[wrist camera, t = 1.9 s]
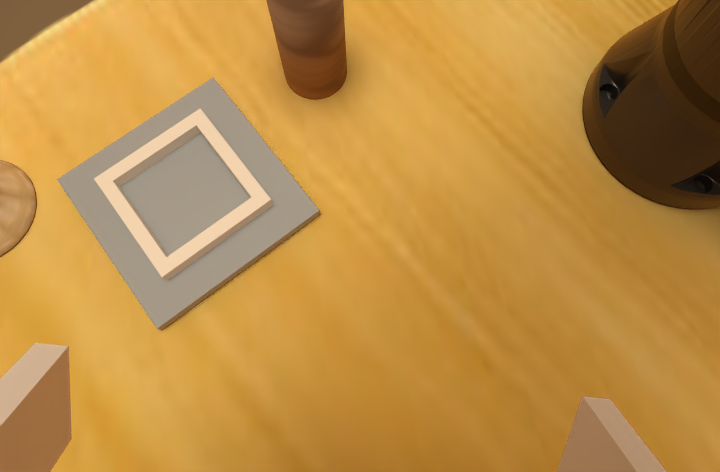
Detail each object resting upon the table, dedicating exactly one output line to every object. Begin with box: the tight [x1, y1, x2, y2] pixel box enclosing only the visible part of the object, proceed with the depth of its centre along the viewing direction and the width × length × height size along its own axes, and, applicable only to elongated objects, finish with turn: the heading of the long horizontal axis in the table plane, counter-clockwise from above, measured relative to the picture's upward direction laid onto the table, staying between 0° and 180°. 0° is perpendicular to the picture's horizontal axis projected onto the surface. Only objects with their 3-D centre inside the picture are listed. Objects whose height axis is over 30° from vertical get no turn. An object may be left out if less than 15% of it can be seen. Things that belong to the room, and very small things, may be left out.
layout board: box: [57, 78, 320, 330], centre depth 40 cm, size 14×14×2 cm
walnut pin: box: [267, 0, 347, 99], centre depth 38 cm, size 5×5×12 cm
